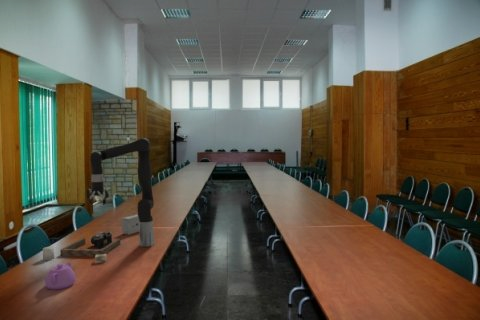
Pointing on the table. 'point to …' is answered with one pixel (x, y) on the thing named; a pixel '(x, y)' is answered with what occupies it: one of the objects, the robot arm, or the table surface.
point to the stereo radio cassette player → (130, 224)
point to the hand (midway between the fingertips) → (98, 204)
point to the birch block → (100, 258)
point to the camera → (101, 239)
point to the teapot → (60, 277)
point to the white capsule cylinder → (48, 253)
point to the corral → (73, 250)
